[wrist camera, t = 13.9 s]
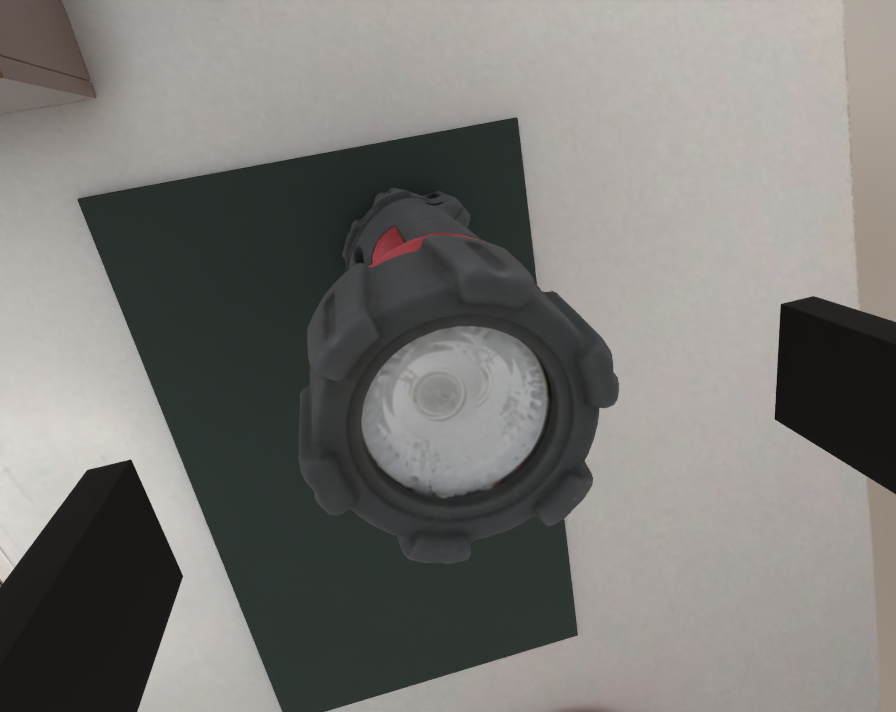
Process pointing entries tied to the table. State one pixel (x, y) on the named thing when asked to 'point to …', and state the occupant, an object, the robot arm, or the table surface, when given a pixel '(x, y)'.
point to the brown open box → (39, 57)
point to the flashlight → (446, 385)
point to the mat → (278, 412)
